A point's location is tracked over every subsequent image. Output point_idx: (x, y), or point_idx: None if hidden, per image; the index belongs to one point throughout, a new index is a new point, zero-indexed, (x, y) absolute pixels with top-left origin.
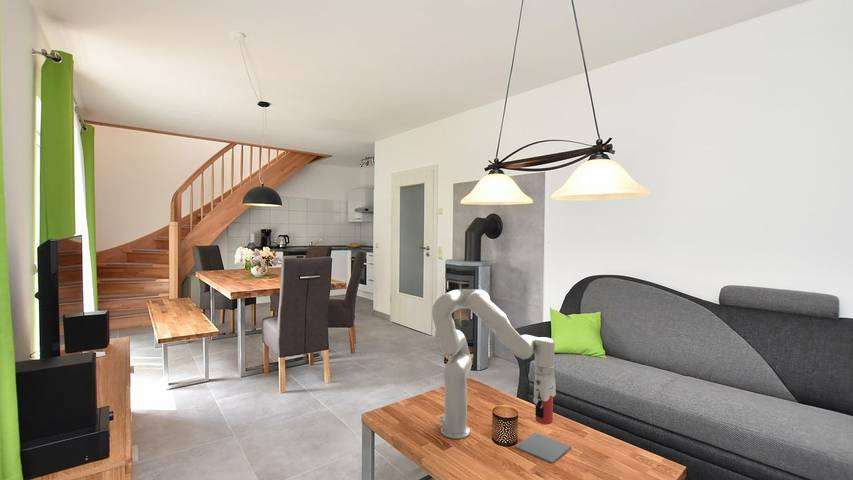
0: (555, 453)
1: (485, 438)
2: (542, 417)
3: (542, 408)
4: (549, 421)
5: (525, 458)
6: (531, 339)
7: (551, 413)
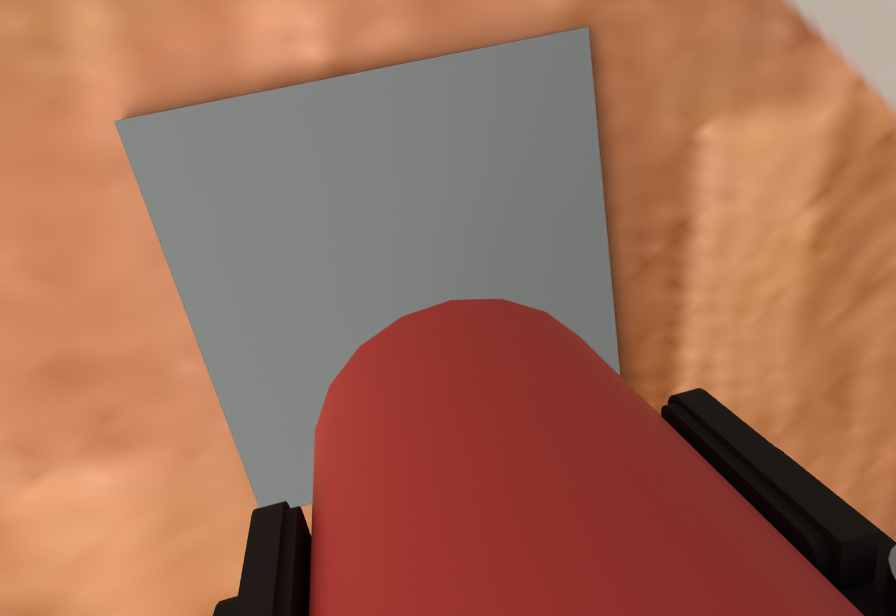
0: (422, 123)
1: None
2: (702, 399)
3: (865, 538)
4: (515, 314)
5: (693, 245)
6: None
7: (503, 383)
